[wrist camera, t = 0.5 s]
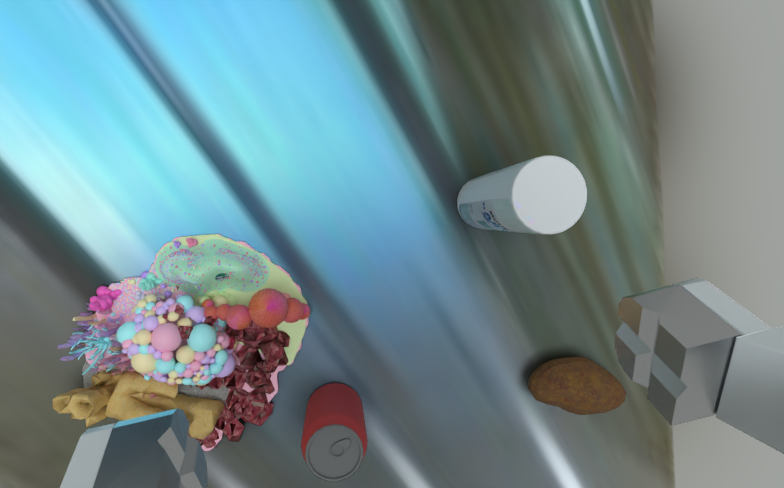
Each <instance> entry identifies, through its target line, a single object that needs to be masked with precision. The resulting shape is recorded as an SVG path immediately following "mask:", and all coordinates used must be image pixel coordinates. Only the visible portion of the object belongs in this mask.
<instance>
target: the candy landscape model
mask: <svg viewBox="0 0 784 488" xmlns="http://www.w3.org/2000/svg"><path fill="white" fill-rule="evenodd" d="M120 282H121V283H112V284H111V285H110V286H109V287H106V286H100V287H99V288H98V289H97V296H93V297H91V298H90V303H87V305H89V307H90V308H88V309H87V310H92V311H96V313H95V314H92V312H90V313H80V314H79V315H81V316H78V317H73V321H79V322H77V323H78V324H77V325H81V326H86V327H81V328H78V329H72V330H80V329H82V328H83V329H84V330H89V331H88V332H87V331H85V332H74V333H72V336H71V337H70V339H69V340H68V341H67V342H71V343H67V344H59V345H58V349H61V348H67V347H71V346H72V348H71V350H72V349H73V348H74V347H75V345H76V344H77V345H78V344H79V343H80V342H85V343H83V344H81V345H79V346H76V348H78V347H80V346H83V345H84V344H86V345H85V347H84V348H81V349H78V350H76V351H73V352H69V353H70V354H74V355H72V356H63V357H62V358H61V359H60V360H62V361H69V360H73V359H74V358H77V357H78V359H79V358H80V357H81V356H82V355H83V354H85V355H86V363H85V365H84V366H83V374H82V375H83V383H84V388H76V389H74V390H72V391H69V392H67V393H61V394H60V395H58V396H57V397H56V398H54V399H53V408H54V409H55V410H56V411H57V412H58V413H72V414H71V418H73V419H79V420H81V419H84V418H85V419H86V426H87V427H88V426H90V425H93V424H95V423H97V422H99V421H101V420H103V419H105V418H107V417H111V418H115V419H118V420H120V421H124V420H128V419H133V418H137V417H142V416H146V415H150V414H155V413H159V412H164V411H168V410H173V409H181V410H183V411H184V413H185V415H186V417H187V419H188V421H189V422H190V425H189V431H188V436H190V437H192V438H194V439H197V440H198V441H199V443H200V445H201V447H202V449H203V450H204V451H209V450H211V449H212V448H214V447H216V446H217V443H218V442H219V441H220V440H221V439H222V437H223V433H224V434H225V436H226V437H227V438H228V439H229V441H236V442H239V440H240V437H241V435H242V432H243V430H244V427H245V426H244V425H243V424H242V423H240V422H239V421H238V419H240V418H241V419H242V420H243V421H244V422H248V423H252V424H255V425H259V426H261V425H262V424H263V423H264V422H265V420H266V419H267V418H268V417H269V416H270V415H271V414H272V411H273V403H272V402H270V400H271V399H272V398H273V397H274V395H275V394H276V393H277V392H278V388H279V386H278V378H277V374H278V372H279V371H282V370H284V369H285V367H286V366H288V365H291V364H292V363H293V362H294V358H295V355H296V354H297V352H298V351H299V350H300V349H301V346H302V341H301V340H302V338H303V336H304V334H305V328H306V327H307V326H308V323H309V319H308V317H309V316H310V307H309V306H308V305H307V301H306V299H305V298H304V297H303V296H302V293H301V288H300V286H299V285H297V284H296V283H295V282H294V281H293V280H292V278H291V276H290V274H289V273H287V272H286V271H285V270H284V269H282V268H281V267H280V266H279V265H275V264H274V263H272V262H271V260H270V258H269V257H267V256H266V255H265V254H264V253H260V252H257V251H256V250H255V249H253V248H252V247H251V246H250V245H248V244H247V243H246V242H244V241H238V242H236V241H233V240H232V239H230V238H226V237H223V236H222V235H220V234H211V235H198V236H187V237H177V238H174V239H173V241H172V242H169V243H166V244H165V245H164V246H163V247H162V248H161V249H160V250H159V252H157V254H156V256H155V261H154V263H153V264H152V265H151V269H150V271H149V272H147V271H145V272H143V273H142V274H141V277H133V278H125V279H124V280H123V281H120ZM91 314H92V315H91ZM88 315H90V316H88ZM90 325H91V326H90ZM78 334H80V335H78ZM75 353H76V354H75ZM80 353H81V354H80Z"/></svg>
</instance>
